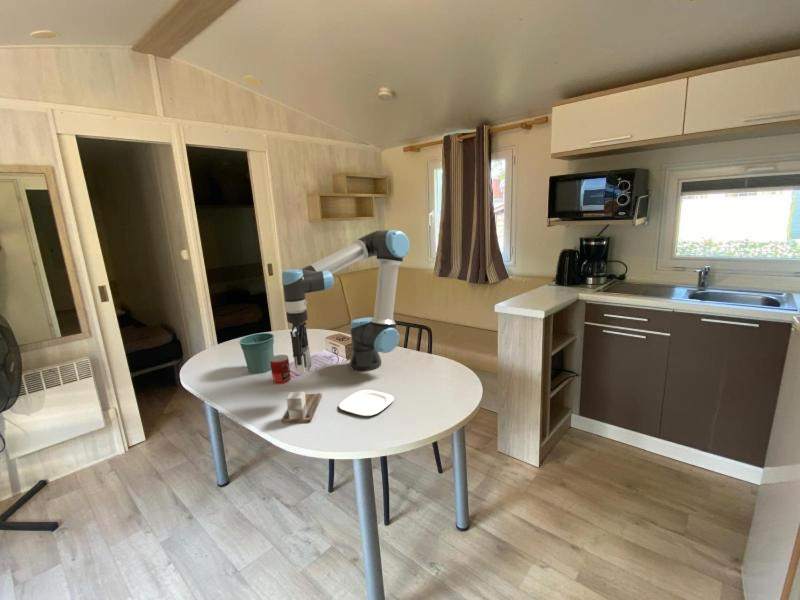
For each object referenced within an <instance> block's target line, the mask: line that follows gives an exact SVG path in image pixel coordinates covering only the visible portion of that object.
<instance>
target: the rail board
mask: <svg viewBox="0 0 800 600" xmlns="http://www.w3.org/2000/svg"><path fill="white" fill-rule="evenodd" d="M322 398H323V393H321V392H319V393H307V394H306V393H305V391H294V392H290V393H289V394H288V396H287V398H286V403H287V409H288V410H287V412H286V413H285V415H284V417H283V418H282V421H281V422H282V424H283V425H285V424H303V423H307V424H308V423H311V422H312V420H313V417H314V416H315V414H316V412H317V409H318V408H319V407H318V406H319V404H320V402H321V399H322Z"/></svg>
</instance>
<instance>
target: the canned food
mask: <svg viewBox="0 0 800 600" xmlns="http://www.w3.org/2000/svg"><path fill="white" fill-rule="evenodd" d="M289 360H290V359H289V356H288V354H276V355H274V356H273V357H271V358H270V364H271V370H270V371H271V375H272V376H271V377H272V381H273V383H274V384H278V385H279V384H280V385H282V384H285V383H288V382H290V380H291V379H292V375H291V367H290V361H289Z"/></svg>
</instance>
